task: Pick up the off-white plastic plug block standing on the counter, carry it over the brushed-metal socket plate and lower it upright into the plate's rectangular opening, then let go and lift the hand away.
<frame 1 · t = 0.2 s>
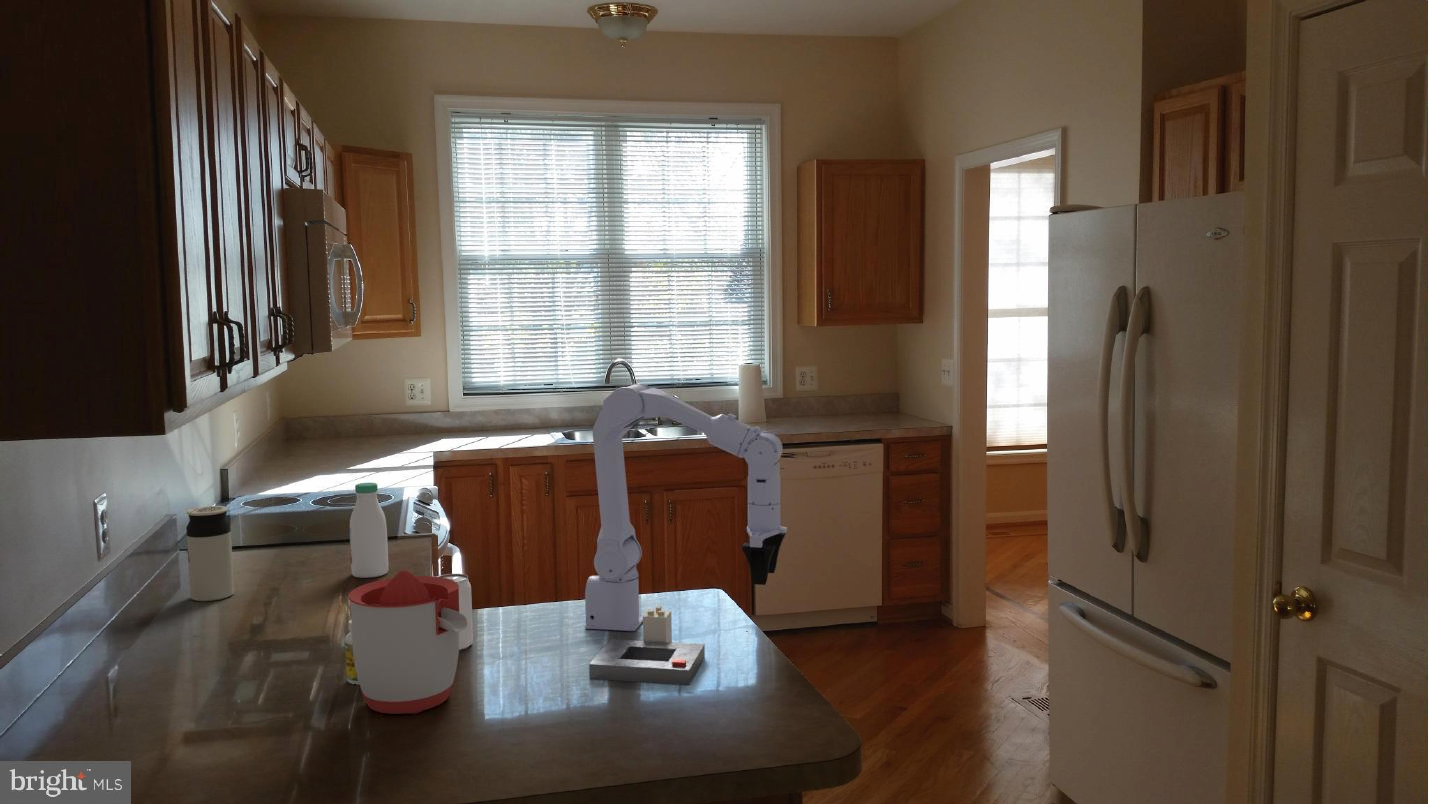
hand: (764, 578, 180), 10 cm above the worktop, tool pointing down, fingers open, 7 cm apart
milk bottle: (370, 574, 224), on the worktop
supplement bottle: (365, 680, 161), on the worktop
can: (453, 647, 176), on the worktop
travel mug: (212, 597, 208), on the worktop
socket plate: (648, 668, 164), on the worktop
plug: (657, 647, 174), on the worktop
citrus juicer: (414, 702, 152), on the worktop
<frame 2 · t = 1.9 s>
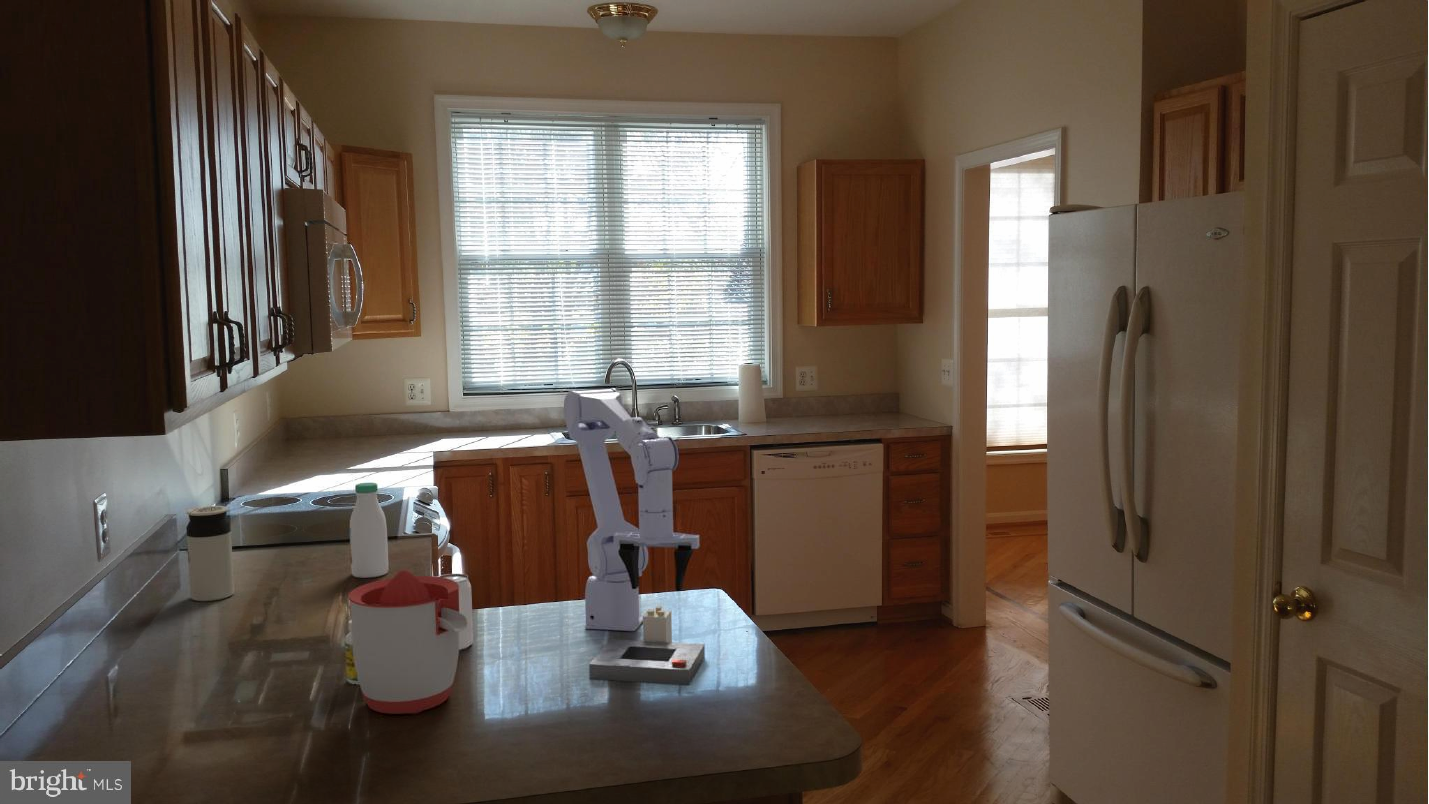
hand: (657, 588, 173), 10 cm above the worktop, tool pointing down, fingers open, 7 cm apart
nothing on the worktop moved.
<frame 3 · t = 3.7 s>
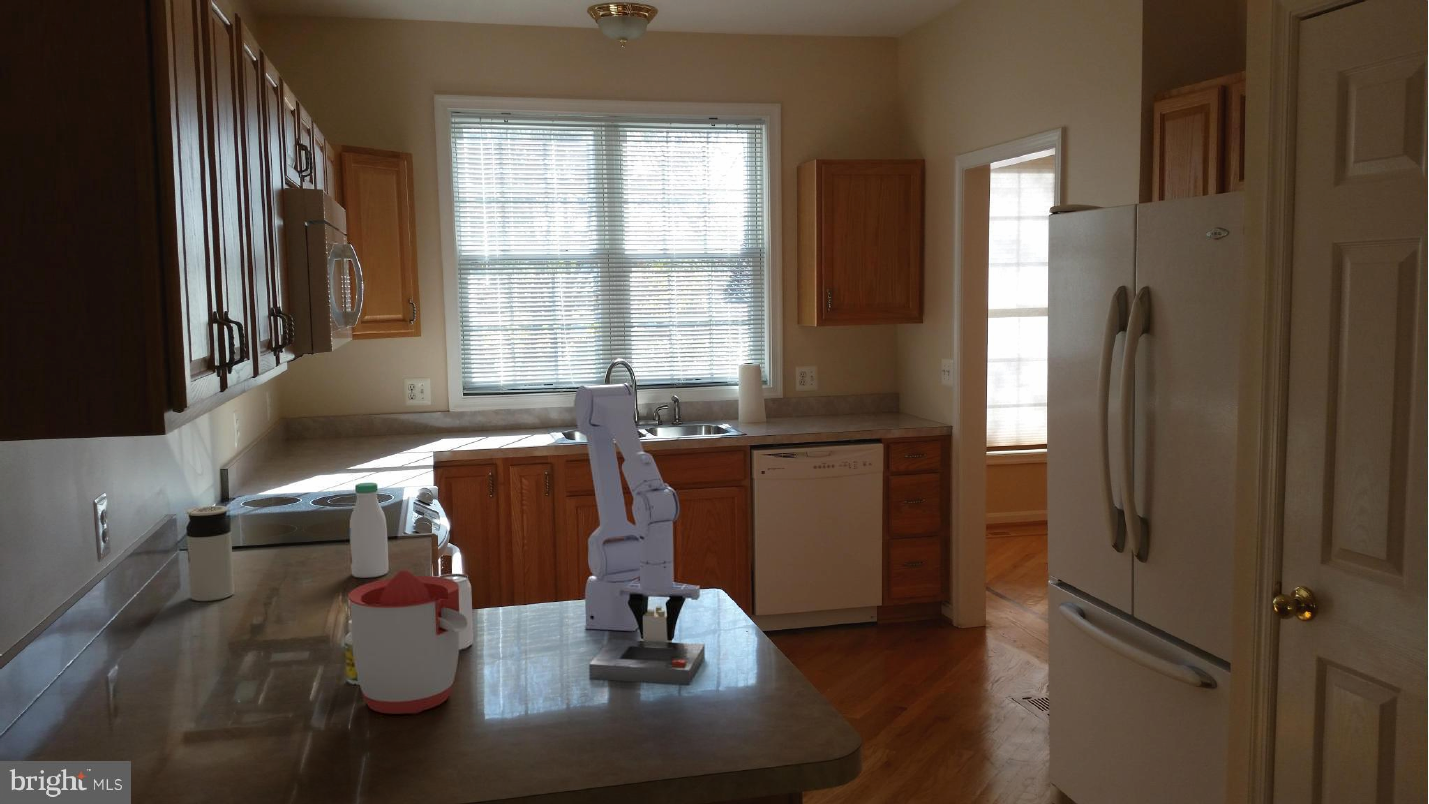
hand: (657, 638, 174), 2 cm above the worktop, tool pointing down, fingers closed on plug, 4 cm apart
plug: (657, 647, 174), on the worktop, touching gripper
everything else where it was.
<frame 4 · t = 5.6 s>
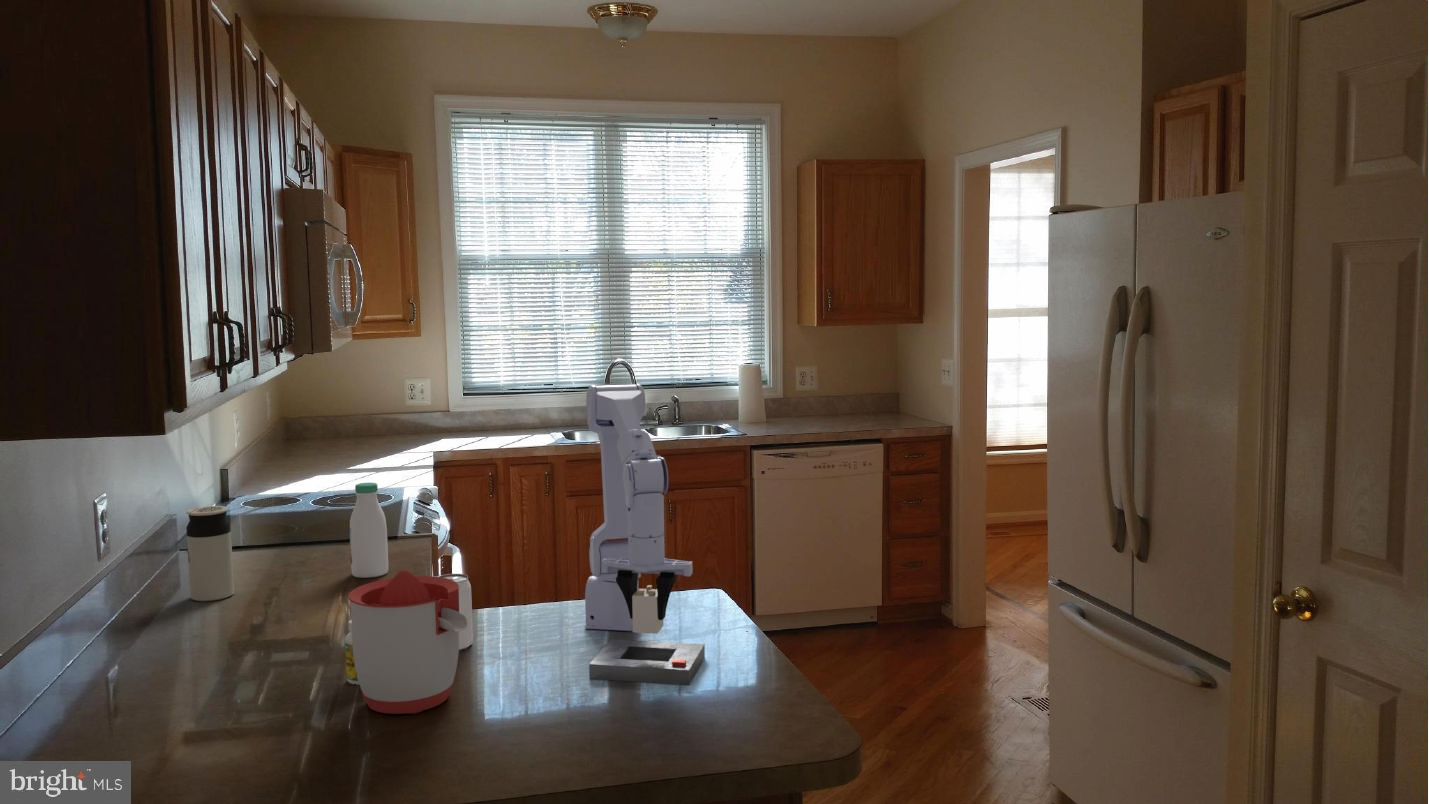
hand: (647, 617, 164), 8 cm above the worktop, tool pointing down, fingers closed on plug, 4 cm apart
plug: (648, 629, 164), point 6 cm above the worktop, touching gripper
everything else where it was.
when the fingers open (3 cm above the worktop, at t = 7.3 s): plug drops 1 cm, resting in socket plate.
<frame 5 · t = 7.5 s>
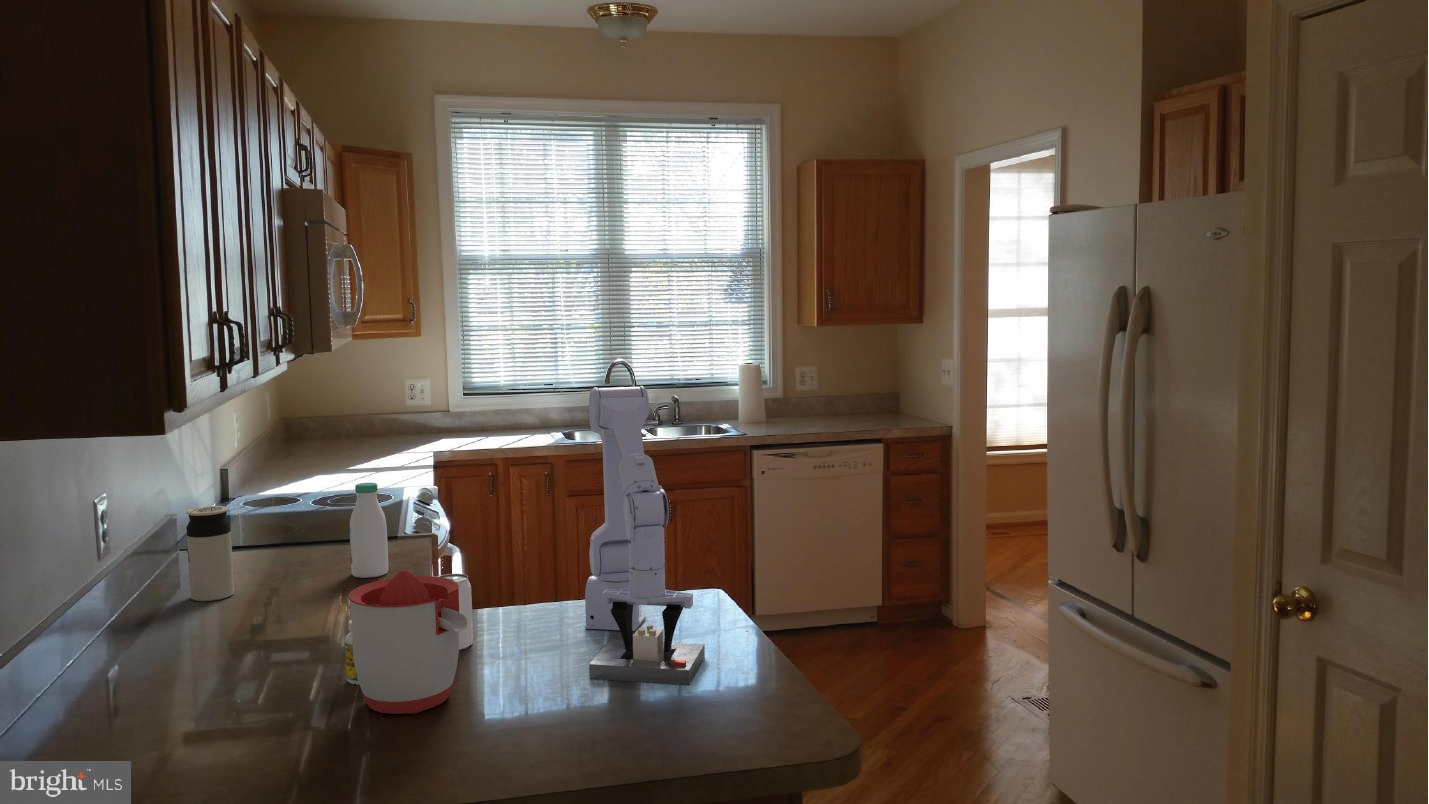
hand: (648, 649, 164), 3 cm above the worktop, tool pointing down, fingers open, 6 cm apart
plug: (648, 668, 165), resting in socket plate
everything else where it was.
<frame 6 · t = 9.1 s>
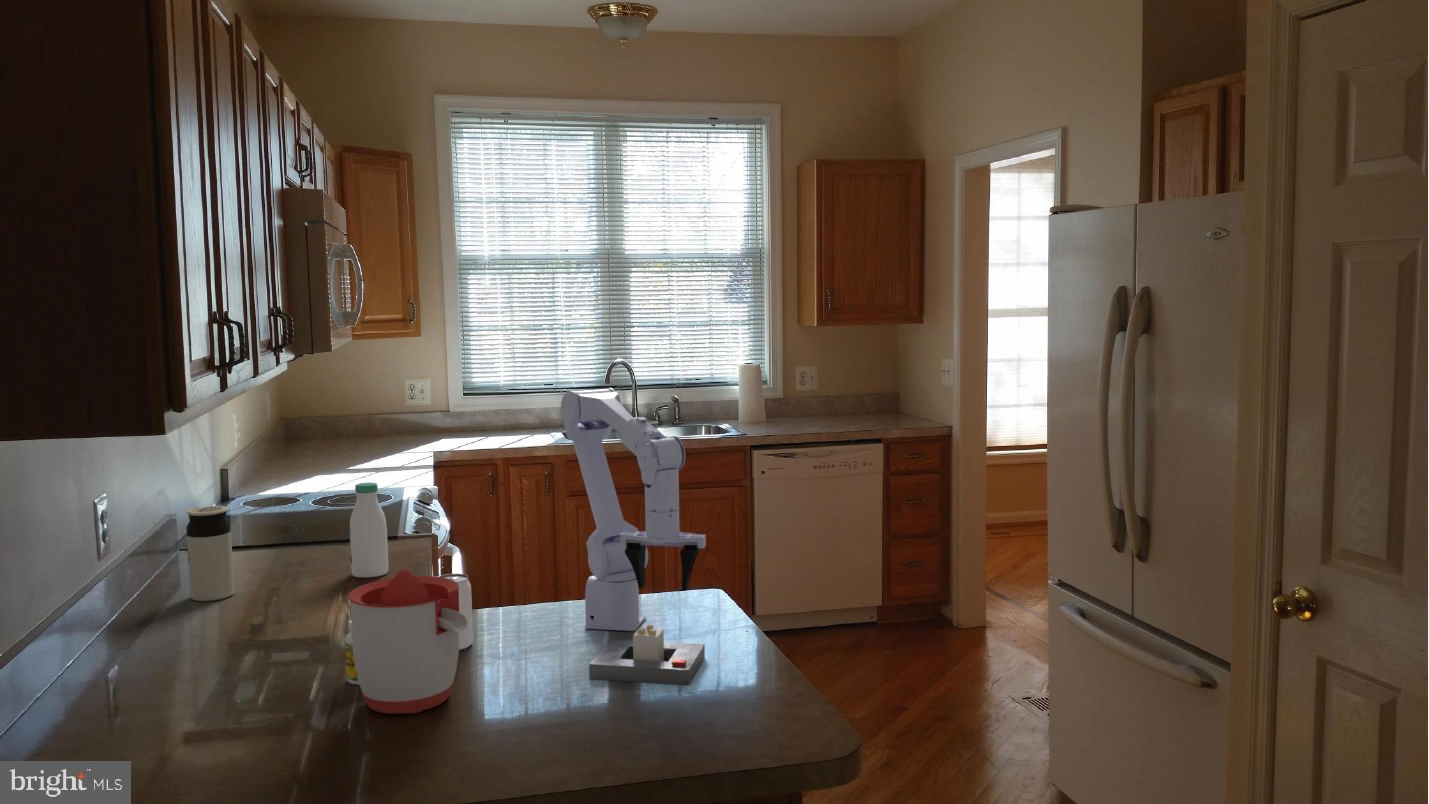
hand: (663, 587, 174), 10 cm above the worktop, tool pointing down, fingers open, 7 cm apart
nothing on the worktop moved.
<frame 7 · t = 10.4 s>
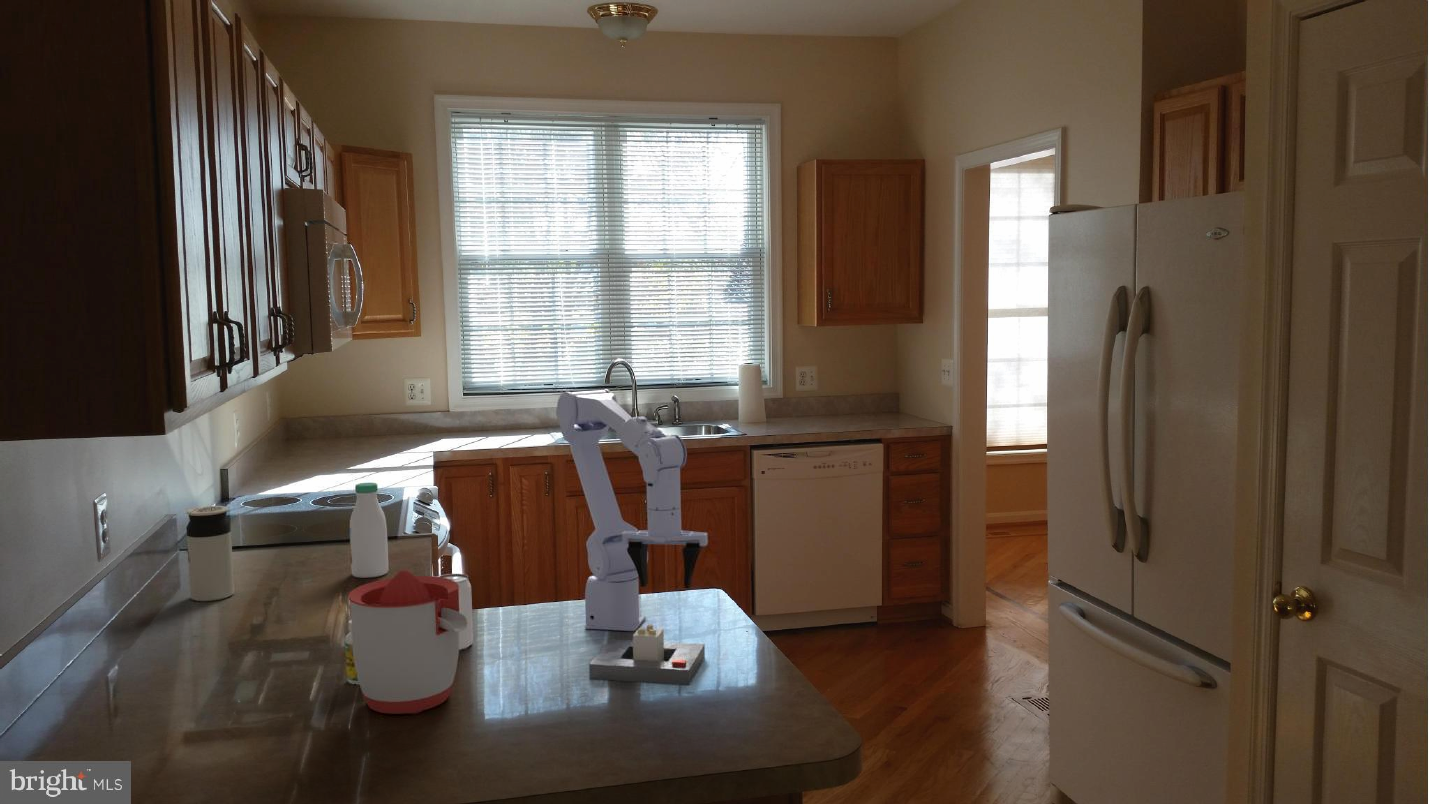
hand: (665, 586, 174), 10 cm above the worktop, tool pointing down, fingers open, 7 cm apart
nothing on the worktop moved.
at the end: plug inside the target area on the socket plate (0.2 cm from its centre), point 0.0 cm above the socket plate's base; plug tilted 0°; the gripper is holding nothing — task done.
